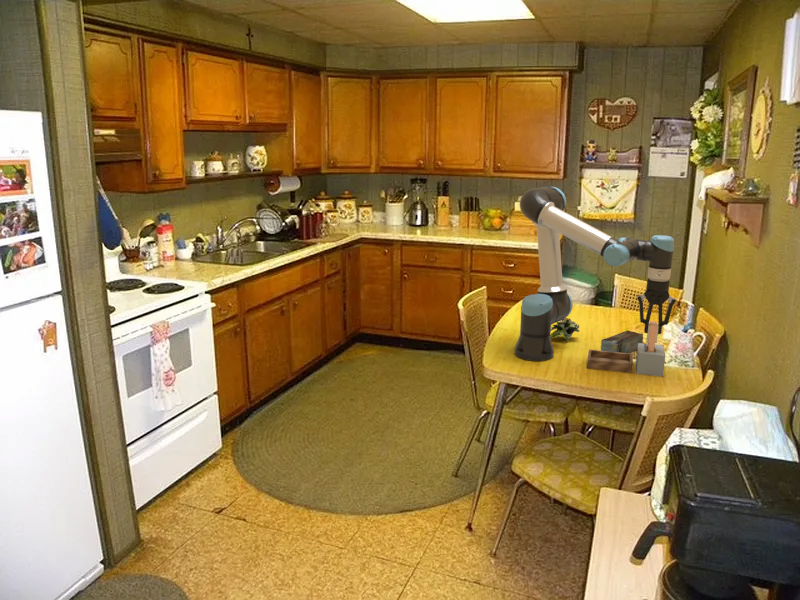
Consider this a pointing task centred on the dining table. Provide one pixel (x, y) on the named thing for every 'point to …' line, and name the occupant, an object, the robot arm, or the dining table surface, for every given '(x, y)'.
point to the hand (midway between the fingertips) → (651, 341)
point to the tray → (610, 361)
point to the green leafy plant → (564, 329)
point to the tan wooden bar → (652, 336)
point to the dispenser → (650, 360)
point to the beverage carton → (622, 342)
